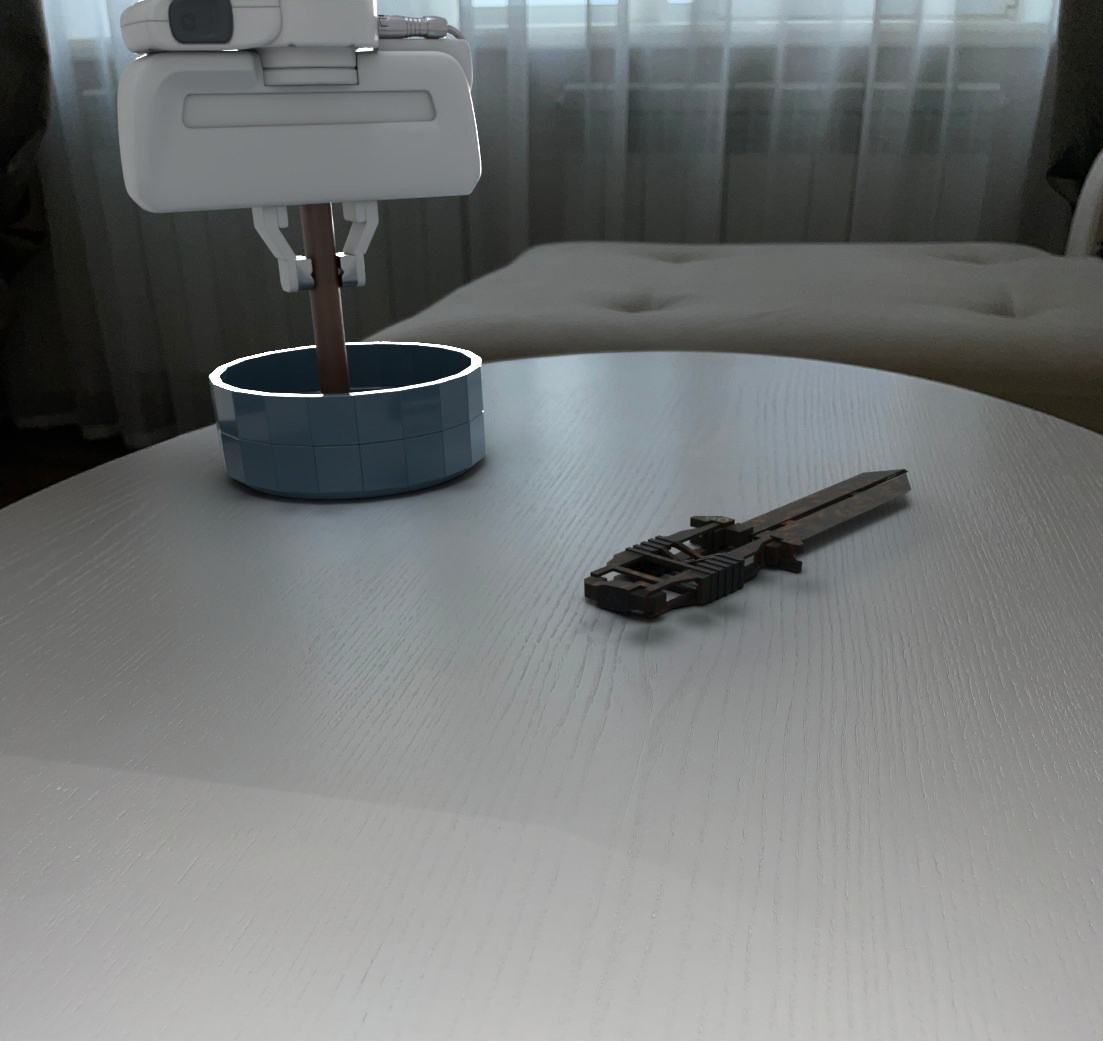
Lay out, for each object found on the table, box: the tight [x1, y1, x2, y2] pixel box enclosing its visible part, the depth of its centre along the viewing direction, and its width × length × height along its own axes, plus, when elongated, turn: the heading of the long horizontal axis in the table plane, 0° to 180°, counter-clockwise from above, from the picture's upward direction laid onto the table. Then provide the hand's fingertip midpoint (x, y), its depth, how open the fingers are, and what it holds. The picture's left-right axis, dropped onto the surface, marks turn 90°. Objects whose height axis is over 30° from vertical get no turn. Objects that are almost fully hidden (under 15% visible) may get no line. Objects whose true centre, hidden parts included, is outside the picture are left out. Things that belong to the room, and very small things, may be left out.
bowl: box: [208, 341, 487, 500], centre depth 71 cm, size 16×16×6 cm
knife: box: [583, 468, 912, 619], centre depth 57 cm, size 25×6×1 cm, turn 130°
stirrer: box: [299, 203, 351, 394], centre depth 68 cm, size 4×4×16 cm
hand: (323, 288), depth 68 cm, fingers closed on stirrer, 2 cm apart
